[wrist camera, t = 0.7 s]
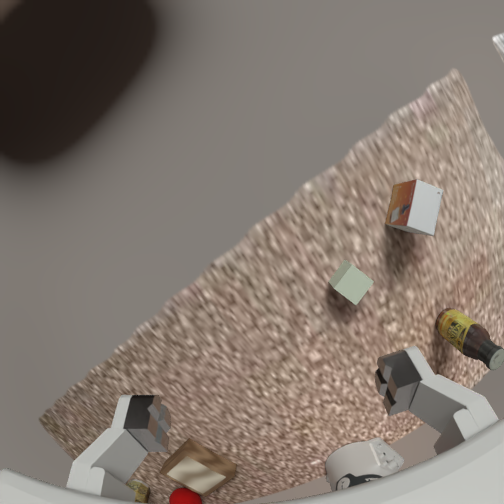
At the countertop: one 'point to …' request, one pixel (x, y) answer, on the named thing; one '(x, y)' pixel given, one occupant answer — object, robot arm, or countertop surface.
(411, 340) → the countertop surface
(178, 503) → the fruit
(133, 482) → the ceramic cup
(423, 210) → the small box
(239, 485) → the countertop surface
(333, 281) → the block
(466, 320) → the sauce bottle
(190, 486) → the base
